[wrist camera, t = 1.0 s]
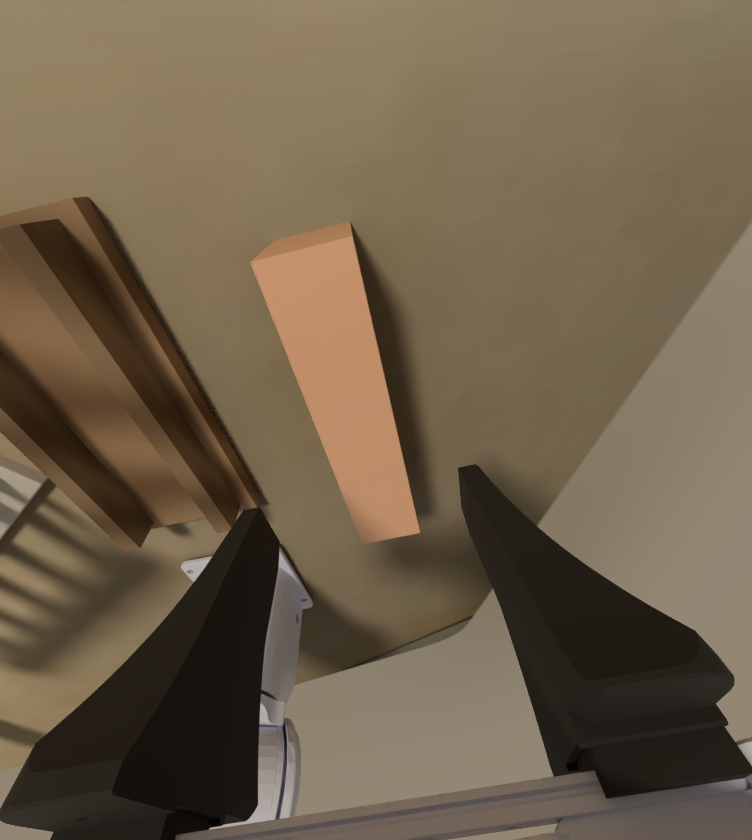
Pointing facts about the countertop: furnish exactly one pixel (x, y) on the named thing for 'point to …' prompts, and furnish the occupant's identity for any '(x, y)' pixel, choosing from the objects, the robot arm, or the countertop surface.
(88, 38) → the countertop surface
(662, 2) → the countertop surface
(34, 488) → the test tube rack
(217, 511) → the strip rack
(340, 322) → the peach rectangular block
